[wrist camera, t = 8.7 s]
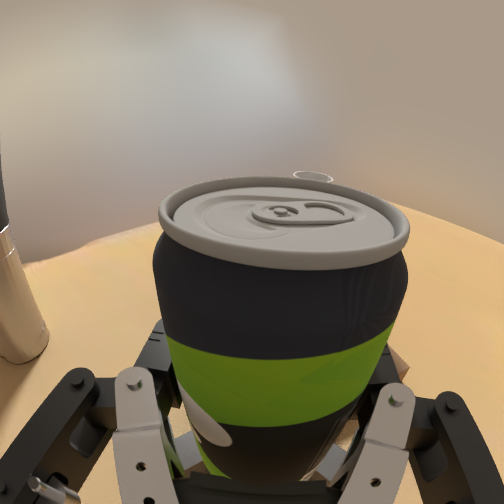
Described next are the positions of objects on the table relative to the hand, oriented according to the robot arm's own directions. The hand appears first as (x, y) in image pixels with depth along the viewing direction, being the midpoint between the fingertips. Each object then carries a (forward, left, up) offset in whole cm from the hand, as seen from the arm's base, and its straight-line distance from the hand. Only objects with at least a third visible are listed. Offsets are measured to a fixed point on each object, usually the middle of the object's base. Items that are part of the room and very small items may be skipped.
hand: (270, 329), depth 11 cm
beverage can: (-1, -2, -9) cm, 10 cm away
